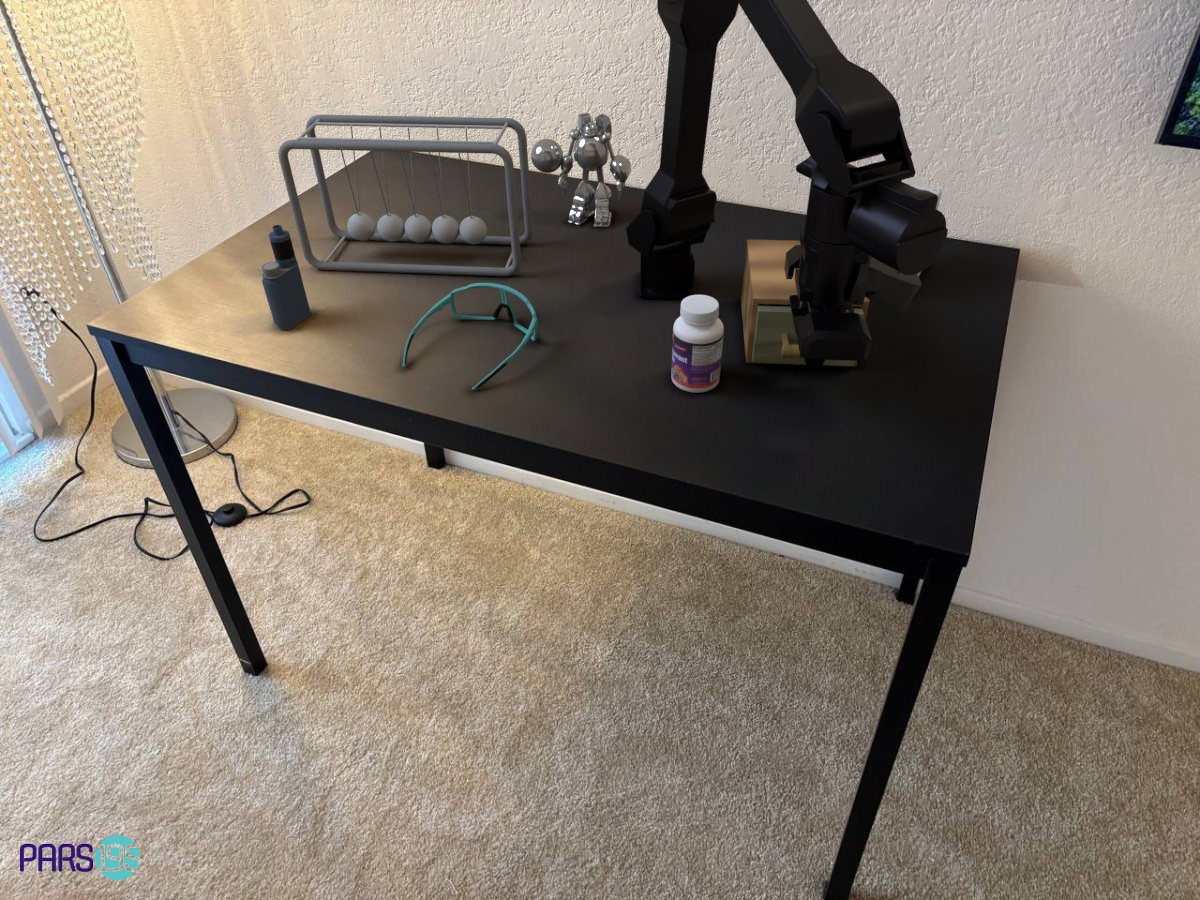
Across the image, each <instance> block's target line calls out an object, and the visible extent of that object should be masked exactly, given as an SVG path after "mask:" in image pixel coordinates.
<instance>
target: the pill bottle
mask: <svg viewBox="0 0 1200 900" xmlns="http://www.w3.org/2000/svg"><path fill="white" fill-rule="evenodd" d="M679 309H680V310H679V312H680V314H679V317H677V318H676V319H675V321H674V323H673V328H672V348H671V369H670V370H671V372H670V373H671V374H670V375H671V377H670V378H671V381H672V383H673V384H674V385H675V386H676V387H677V388H678V389H680V390H681V391H685V392H687V393H694V394H698V393H706V392H709V391H711V390H713V389H715V388H716V387H717V386H718V384H719V383H720V377H721V367H722V357H723V347H724V345H723V344H724V335H725V334H724V333H725V327H724V326H725V325H724V323H723V322H722V320H721V318H719V315H720V305H719V301H718V300H717V299H716V298H714V297H713V296H710V295H706V294H692V295H690V296H688V297H686V298H684V299H681V302H680V308H679Z"/></svg>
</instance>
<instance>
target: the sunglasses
mask: <svg viewBox="0 0 1200 900" xmlns="http://www.w3.org/2000/svg"><path fill="white" fill-rule="evenodd" d="M480 288H481V289H484V288H487V289H496V290H498V291H499V294H500V298H501V302H500V303H499V304H498V306H497V308H496V309H495V310H494V312H493V315H492V316H486V315H485V316H482V315H463V314H458V312H457V309H456V305H455V294H456V293H457V294H458V293H460V292H463V291H468V290H470V289H480ZM507 293H510V294H512V295H514V296H516V297H518V298H519V299H520V300H521V301H522V302H524V303H525V305H526V306H527V308H528V310H529V311H530V314H531V316H532V318H531V322H530V324H529V326H528V329H527V328H525V327H524V326H522V325H521V324H520V323H518V320H517V316H516V314H515V311H514V307H513V306H512V304H511V302H510V301H509V298H507V296H508V294H507ZM448 305H450V309H451V312H452V313H451V314H452V315H453V318H454V319H455V320H479V321H482V320H484V321H496V320H497V319H498V318H499V316H500V314H501V312H502V310H503V308H504V309H506V313H507V317H508V321H509V322H510V323H512V324H513V325H514V327H516V328H517V329H519V330H520V331H521V332H523V333H524V334H525V335H524V337H523V339H522V341H521V343H519V345H518V346H517V348H516V349H515V350H514V351H513V352H512V353H511V354H510V355H508V356H507V357H506V358H505V359H503V361H501V363H500V364H498V365H497V366H496V368H494V369H493V370H492V371H490V373H488V374H487V375H486V376H485V377H484V378H482V379H481V380H480V381H479V382H477V383H476V384H475V385H474V386H473V387H472V388H471V391H477V390H478V389H480V388H482V387H483V386H484V385H485V384H486V383H488V382H489V381H490V380H491V379H492V378H494V377H495V376H496V375H497V374H498V373H499V372H501V371H502V370H503V369H504V368H505V367H506V366H508V365H509V364H510V363H511V362H512V361H514V359H516V357H517V356H518V355H519V353H520V352H521V351H522V350H523V348H524V346H525V345H526V344H527V343H528V342H529V340H530V339H531V340H532V342H536V341H537V339H538V335H539V321H538V316H537V313H536V310H535V308H534V306H533V304H532V303H531V302H530V301H529V299H528V298H527V297H526V295H524V294H523V293H521V292H519V291H518V290H516V288H515V289H514V288H512V287H510V286H508V285H504V284H499V283H493V282H476V283H475V282H474V283H470V284H467V285H466V286H461V287H457V288H455V289H453V290H452V291H451V292H450V293H449V294H447V295H446V296H444V297H443V298H442V299H440V300H439V301H438V302H436V303H435V304H434V305H433V306H432V307H431V308H430V309H429V310H428V311H427V312H426V313H425V314H424V315H423V317H421V318H420V320H419V321H418V322H417V324H416V325H414V327H413V328H412V330H411V331H410V333H409V335H408V338H407V340H406V344H405V347H404V352H403V359H402V368H406V367H407V361H408V354H409V349H410V347H411V344H412V341H413V339H414V337H415V336H416V334H417V333H418V332H419V331H420V329H421V328H422V327H423V325H424V324H425V322H426V321H427V320H428V319H429V318H430V317H431V316H432V315H434V314H435V313H437V312H441V311H443V309H444V308H446V307H447V306H448Z"/></svg>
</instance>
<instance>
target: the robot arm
mask: <svg viewBox="0 0 1200 900" xmlns="http://www.w3.org/2000/svg"><path fill="white" fill-rule="evenodd" d="M656 1H657V2H656V3H657V9H656V10H657V14H658V17H659V18H660V21H661V22H662V25H663V27H664V29H665V30H666V33H667V35H668V37H669V52H668V64H667V76H666V89H665V101H664V111H663V123H662V124H663V125H662V136H661V148H660V157H659V158H660V160H659V168H658V170H657V171H656V172H655V174H654V176H653V177H652V178H651V180H650V181H649V182H648V184H647V186H646V187H645V189H644V193H643V197H642V203H641V208H640V213H638V214H637V216H636V217H635V218H634V219H633V220H632V221H631V222H630V223H629V224H628V225H627V226H626V228H625V231H626V236H627V242H628V245H629V246H630V247H631V248H633V249H634V250H635V251H637V252H638V253H639V254H640V268H639V269H640V270H639V271H640V272H639V273H640V275H639V276H640V278H639V285H638V298H640V299H660V300H661V299H663V300H666V299H667V300H683V299H684V298H686V297H688V296H691V295H690V289H693V288H694V284H695V269H696V268H695V265H696V251H695V250H693V249H692V245H696V244H703V243H704V242H705V239H706V236H707V233H708V232H709V230H710V228H711V225H712V224H713V223H715V221H716V220H715V219H716V218H715V207H716V203H717V199H718V195H717V193H716V191H715V190H712V189H711V188H710V186H709V184H708V181H707V180H706V178H705V177H704V174H703V167H704V159H705V150H706V142H707V134H708V126H709V125H708V124H709V119H710V118H709V117H710V109H711V100H712V92H713V86H714V85H713V83H714V76H715V67H716V60H717V52H718V45H719V42H720V41H721V40H722V38H723V36H724V35H725V33H726V32H727V30H728V29H729V27H730V26H731V24H732V22H733V21H734V19H735V18H736V16H737V12H738V9H739V6H740V8H741V10H742V12H743V13H744V14H745V16H746V17H747V20H748V21H749V22H750V24H751V26H752V27H753V29H754V31H755V32H756V34H757V35H758V37H759V39H760V40H761V42H762V44H763V45H764V47H765V49H766V50H767V52H768V53H769V55H770V56H771V58H772V60H773V61H774V63H775V64H776V66H777V67H778V69H779V71H780V72H781V74H782V76H783V78H784V79H785V81H786V82H787V83H788V85H789V87H790V89H791V91H792V93H793V95H794V97H795V110H794V111H795V112H794V122H795V125H796V127H797V129H798V131H799V134H800V136H801V138H802V141H803V143H804V145H805V148H806V151H807V152H808V154H809V155H810V156H808V157H807V158H806V159H804V160H803V161H801V162H800V163H798V164H796V165H795V171H796V172H797V173H798V174H800V175H802V176H804V177H806V178H808V179H810V184H809V185H810V186H809V192H808V199H807V206H806V213H805V221H804V229H803V230H802V229H801V230H800V231H799V239H798V241H800V245H795V246H794V247H792V248H791V249H790V250H789V251H788V252H786V258H785V266H784V270H785V275H786V279H792V278H793V275H794V268H798V269H795V276H794V279H795V284H796V289H797V294H798V295H791V296H790V297H789V300H790V306H791V311H792V315H793V322H794V328H795V332H796V334H797V337H798V346H799V352H800V356H801V357H803V358H804V360H805V363H806V365H805V366H806V369H807V372H808V373H811V374H818V373H819V372H820V371H821V369H822V368H823V366H824V365H823V363H824V362H825V360H851V361H857V362H864V361H866V360H867V359H868V358H869V356H870V352H871V348H872V342H873V339H872V337H871V333H870V330H869V327H868V323H867V321H865V320H864V319H863V318H862V317H861V316H860V315H859V314H858V313H855V312H854V309H853V305H863V303H864V298H865V297H866V298H868V299H869V301H872V302H875V303H878V304H880V305H883V306H886V307H889V308H891V309H892V311H894V312H897V313H904V312H905V311H906V309H907V308H908V306H909V305H910V304H911V301H912V300H913V298H915V295H916V294H917V293H918V291H919V289H921V287H922V281H921V279H920V276H919V277H918V275H917V274H918V273H919V272H921V271H922V272H923V271H924V270H926V269H927V268H928V267H930V266H931V264H932V263H934V261H935V260H936V259H937V257H938V256H939V254H940V253H941V252H942V250H943V247H944V245H945V242H946V240H947V237H948V232H949V229H948V228H947V220H946V217H945V215H944V213H943V212H942V211H940V210H939V209H938V210H936V206H937V201H938V196H937V195H936V194H934V193H932V192H929V191H927V190H920V189H917V188H915V187H912V186H910V185H911V184H909V185H908V183H905V182H903V181H904V180H907V179H911V178H914V177H915V175H916V168H915V165H914V162H913V159H912V158H913V157H912V156H913V153H912V151H911V149H910V147H909V144H908V141H907V137H906V134H905V130H904V127H903V123H902V120H901V109H900V105H899V103H898V102H897V99H896V97H895V96H894V95H893V94H892V92H891V91H890V90H889V89H888V88H887V87H886V86H885V85H884V84H883V83H882V82H881V81H880V80H879V78H877V77H876V75H874V73H872V72H871V71H870V70H868V69H865V68H863V67H861V66H860V65H859V64H857V63H854V62H852V61H850V60H849V59H848V58H847V57H846V56H845V55H844V54H843V53H842V52H841V50H840V49H839V47H838V46H837V45H836V43H835V41H834V40H833V38H832V37H831V35H830V33H829V32H828V31H827V29H826V28H825V26H824V25H823V23H822V21H821V19H820V18H819V17H818V15H817V14H816V12H815V10H814V9H813V7H812V6H811V4H810V3H809V1H808V0H656ZM880 155H881V156H882V158H883V159H884V160H881V161H876V162H873V163H869V164H865V165H861V166H856V165H853V164H851V163H854V162H858V161H861V160H865V159H870V158H874V157H877V156H880ZM922 272H921V273H922Z"/></svg>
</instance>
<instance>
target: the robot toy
mask: <svg viewBox="0 0 1200 900" xmlns="http://www.w3.org/2000/svg"><path fill="white" fill-rule="evenodd" d="M577 117H578V118H577V120H576V124H577V125H576V127H575V128H573V129H571V130H570V132H569V136H570V138H571V140H570V143H569V148H568V151H567V154H565V155H564V151H563V148H562V146H561V145H560V144H559V143H558V142H557V141H556V140H554V139H551V138H542V139H540V140H538V141H536V142H535V144H534V145H533V146H532V148H531V152H530V160H531V163H532V165H533V166H534V168H535V169H537V170H538V171H539V172H541V173H545V174H551V173H554V172H556V171H557V170H558V169H560V170H561V172H560V173H559V176H558V183H557V185H558V186H559V187H560V191H561V193H562V194H563V195H565V196H566V195H567V179H568V177H569V173H570V172H571V171H572V169H573V167H574V162H575V163H577V165H578V166H579V167H580V168H582V175H581V181H580V182H579V184H578V185H577V187H576V189H575V191H574V194H573V199H572V206H571V209H570V211H569V213H568V220H567V222H568V223H569V224H573V225H577V226H580V225H582V224H583V223H585V222H586V221H587V220H588V218H589V217H591V216H593V215H594V224H593V227H594V228H600V227H601V228H602V227H603V228H607V227H610V224H611V222H612V212H611V211H610V205H611V202H612V201H613V196H612V195H613V194H612V190H611V188H610V187H609V186H608V185H606V184H605V175H604V166H605V165H607V163H608V161H609V156H610V163H609V172H611V175H612V177H613V179H614V180H615V183H616V185H615V186H616V188H617V191H618V193H617V194H618V197H617V198H618V200H617V201H622V200H623V196H624V194H625V189H626V181H628V178H629V177H630V175H631V173H632V172H631V171H632V164H631V163H632V162H631V161H630V160H629V159H628V158H627V157H626V156H625V155H622V154H616V155H615V153H614V149H613V145H612V142H611V140H612V138H613V136H612V135H613V127H612V126H613V125H612V122H611V119H610V116H608V115H606V114H604V113H600V114H599V115H597V116H596V117H594V116H593V115H592V116H591V114H590V113H589V112H585V113H579V114H578V115H577ZM594 118H595V119H594ZM594 121H595V122H594ZM572 155H573V156H572ZM590 172H596V179H597V187H596V188H595V189H594V187H593V186H592V185H591V184H589V179H590ZM593 201H594V210H593V209H592V208H591V206H590V205H591V204H592V202H593Z"/></svg>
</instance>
